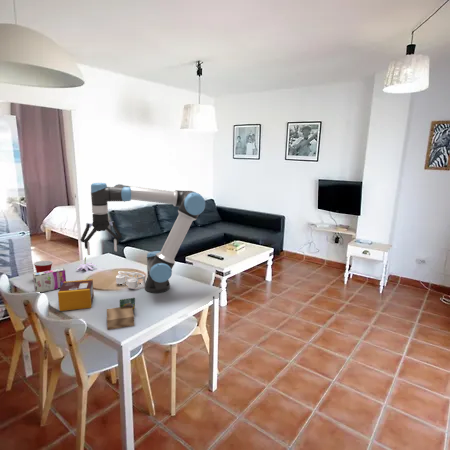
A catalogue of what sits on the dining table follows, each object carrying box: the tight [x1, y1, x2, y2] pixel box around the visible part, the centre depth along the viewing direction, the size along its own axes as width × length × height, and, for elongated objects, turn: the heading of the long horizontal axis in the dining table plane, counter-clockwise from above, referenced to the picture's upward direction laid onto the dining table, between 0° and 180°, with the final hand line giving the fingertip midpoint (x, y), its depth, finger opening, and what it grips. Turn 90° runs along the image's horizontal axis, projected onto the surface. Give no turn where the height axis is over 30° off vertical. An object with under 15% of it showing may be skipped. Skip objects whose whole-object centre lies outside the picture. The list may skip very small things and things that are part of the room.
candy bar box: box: [32, 267, 67, 293], centre depth 189 cm, size 11×5×16 cm
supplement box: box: [57, 278, 95, 312], centre depth 171 cm, size 10×15×16 cm
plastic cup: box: [32, 260, 54, 273], centre depth 202 cm, size 11×11×12 cm
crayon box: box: [119, 297, 136, 310], centre depth 163 cm, size 7×3×12 cm
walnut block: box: [106, 306, 135, 330], centre depth 154 cm, size 12×12×5 cm
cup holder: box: [115, 270, 146, 290], centre depth 197 cm, size 20×11×7 cm, turn 56°
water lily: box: [75, 257, 97, 272], centre depth 223 cm, size 15×15×9 cm
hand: (102, 252), depth 167 cm, fingers open, 13 cm apart
